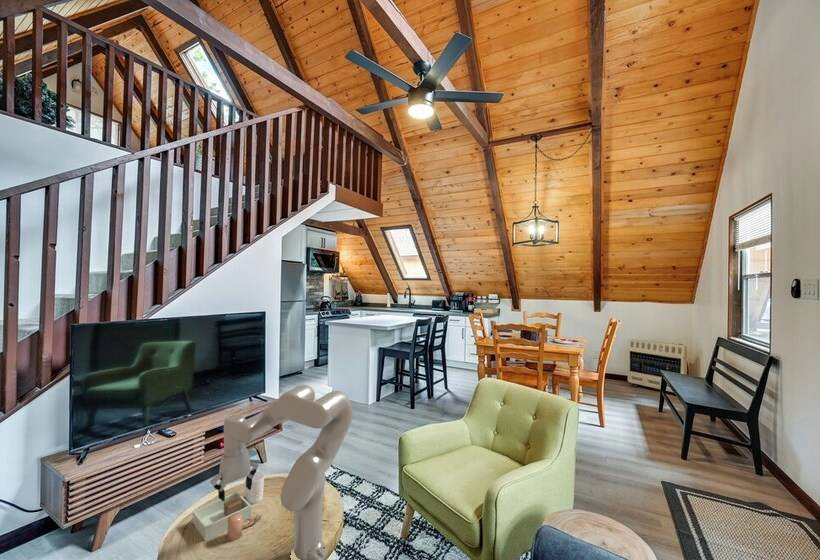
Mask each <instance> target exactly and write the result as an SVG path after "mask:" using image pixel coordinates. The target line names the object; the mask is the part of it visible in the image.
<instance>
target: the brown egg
mask: <svg viewBox="0 0 820 560" xmlns="http://www.w3.org/2000/svg"><path fill="white" fill-rule="evenodd" d="M242 536H243V522H242V514H240V513H236V514H233V515H231V516H229V518H228V529H227V540H228V541H231V542H233V541H237V540H239V539H241V538H242Z"/></svg>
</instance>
